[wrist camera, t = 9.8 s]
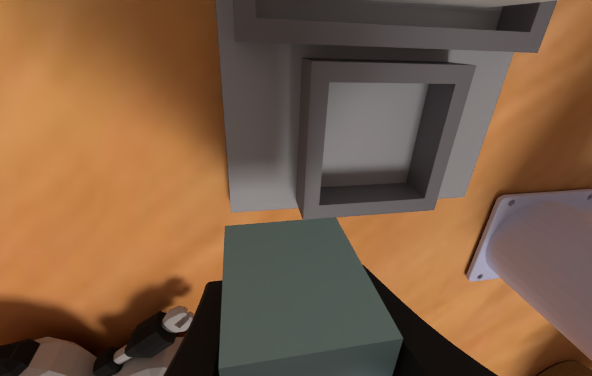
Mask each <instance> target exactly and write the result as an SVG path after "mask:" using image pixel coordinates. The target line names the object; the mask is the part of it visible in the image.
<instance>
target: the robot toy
mask: <svg viewBox="0 0 592 376" xmlns="http://www.w3.org/2000/svg"><path fill="white" fill-rule="evenodd" d="M187 310H188V309H187V308H185V307H183V306H177V307H175V308H172V309H170V310H169V311H168V312H167V313H164V312H161V311H159V312H158V313H156V314H155V315H153V316H152V317H150V318H148V319H147V320H145V321H144V322H142V323H141V324H139V325H138V326H137V328H136V329H135V331H134V333H133V334H132V336H131V338H130V339H129V341H128V343H127V345H125V346H124V347H122V348H121V349H118V348H116V347H111V348H109V349H108V350H106V351H104V352H103V353H101V354H100V355H98V357H95V356H94V355H93V354H91V353H90V352H88V351H87V350H85V349H84V348H82V347H81V346H79V345H78V344H76V343H74V342H70V341H65V340H61V339H57V338H52V337H44V338H40V339H36V340H32V339H26V340H23V341H19V342H15V343H11V344H7V345H3V346H0V376H163V375H164V373H165V372H166V370H167V368H168V366H169V364H170V362H171V361H172V359H173V357H174V355H175V353H176V352H177V350H178V348H179V346H180V344H181V342H182V340H183V338H184V337H176V336H177V332H183V331H186V330H187V329H188V328H189V326H190V324H191V321H192V319H193V317H194V314H193V313H192V312H189V313H187Z"/></svg>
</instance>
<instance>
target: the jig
mask: <svg viewBox="0 0 592 376" xmlns="http://www.w3.org/2000/svg"><path fill="white" fill-rule="evenodd" d="M556 2H557V1H547V2H537V3H528V4H518V5H509V6H499V7H490V8H476V7H461V6H446V5H431V4H416V3H401V2H386V1H371V0H215V4H216V17H217V31H218V44H219V57H220V71H221V84H222V97H223V111H224V124H225V137H226V150H227V164H228V177H229V190H230V204H231V213H232V212H247V211H262V210H277V209H292V208H299V210H300V213H301V216H302V218H303V220H307V219H319V218H331V217H347V216H361V215H374V214H388V213H401V212H415V211H428V210H434V208H435V205H436V202H437V199H441V198H456V197H465V194H466V191H467V188H468V185H469V182H470V179H471V176H472V173H473V171H474V168H475V165H476V162H477V159H478V156H479V153H480V150H481V147H482V144H483V141H484V138H485V135H486V132H487V129H488V127H489V124H490V121H491V118H492V115H493V112H494V109H495V106H496V103H497V100H498V97H499V94H500V91H501V88H502V86H503V83H504V80H505V77H506V74H507V71H508V68H509V65H510V62H511V59H512V56H513V53H514V52H529V53H538V50H539V48H540V45H541V42H542V40H543V37H544V34H545V32H546V29H547V26H548V24H549V21H550V18H551V16H552V13H553V10H554V8H555V5H556Z"/></svg>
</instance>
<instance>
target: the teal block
mask: <svg viewBox="0 0 592 376" xmlns="http://www.w3.org/2000/svg"><path fill="white" fill-rule="evenodd" d="M402 341H403V337H402V335H401V333H400V332H399V330H398V328H397V326H396V324H395V323H394V321H393V319H392V317H391V315H390V314H389V312H388V310H387V308H386V307H385V305H384V303H383V301H382V299H381V298H380V296H379V294H378V292H377V290H376V289H375V287H374V285H373V283H372V281H371V280H370V278H369V276H368V274H367V273H366V271H365V269H364V267H363V265H362V264H361V262H360V260H359V258H358V256H357V255H356V253H355V251H354V249H353V247H352V246H351V244H350V242H349V240H348V239H347V237H346V235H345V233H344V231H343V230H342V228H341V226H340V224H339V222H338V221H337V219H336V217H331V218H319V219H307V220H294V221H282V222H270V223H257V224H245V225H232V226H225V238H224V260H223V281H222V303H221V325H220V346H219V368H218V369H219V375H220V376H392V375H393V371H394V368H395V365H396V361H397V358H398V355H399V351H400V348H401V344H402Z"/></svg>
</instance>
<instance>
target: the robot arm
mask: <svg viewBox="0 0 592 376" xmlns="http://www.w3.org/2000/svg"><path fill="white" fill-rule="evenodd" d="M363 267H364V269H365V271H366V273H367V274H368V276H369V278H370V280H371V281H372V283H373V285H374V287H375V289H376V290H377V292H378V294H379V296H380V298H381V299H382V301H383V303H384V305H385V307H386V308H387V310H388V312H389V314H390V315H391V317H392V319H393V321H394V323H395V324H396V326H397V328H398V330H399V332H400V333H401V335H402V337H403V341H402V344H401V348H400V351H399V355H398V358H397V361H396V365H395V368H394V371H393V375H392V376H498V375H496V374H495V373H493V372H492V371H490V370H489V369H487V368H486V367H484V366H483V365H481V364H480V363H478V362H477V361H476V360H474V359H473V358H471V357H470V356H469V355H467V354H466V353H464V352H463V351H462V350H460V349H459V348H458V347H456V346H455V345H454V344H452V343H451V342H450V341H448V340H447V339H446V338H444V337H443V336H442V335H441V334H439V333H438V332H437V331H436V330H435V329H433V328H432V327H431V326H430V325H428V324H427V323H426V322H425V321H424V320H422V319H421V318H420V317H419V316H418V315H417V314H415V313H414V312H413V311H412V310H411V309H410V308H409V307H408V306H406V305H405V304H404V303H403V302H402V301H401V300H400V299H399V298H398V297H397V296H395V295H394V294H393V293H392V292H391V291H390V290H389V289H388V288H387V287H386V286H385V285H384V284H383V283H382V282H381V281H380V280H378V279H377V278H376V277H375V276H374V275H373V274H372V273H371V272H370V271H369V270H368V269H367V268H366V267H365V266H364V265H363ZM466 277H467V279H468V280H469V281H480V280H488V279H496V278H501V279H502V280H503V281H505V282H506V283H507V284H508V285H509V286H510V287H511V288H512V289H513V290H514V291H515V292H517V293H518V294H519V295H520V296H521V297H522V298H523V299H524V300H525V301H526V302H528V303H529V304H530V305H531V306H532V307H533V308H534V309H535V310H536V311H537V312H539V313H540V314H541V315H542V316H543V317H544V318H545V319H546V320H547V321H548V322H550V323H551V324H552V325H553V326H554V327H555V328H556V329H557V330H558V331H559V332H560V333H562V334H563V335H564V336H565V337H566V338H567V339H568V340H569V341H570V342H571V343H573V344H574V345H575V346H576V347H577V348H578V349H579V350H580V351H581V352H582V353H584V354H585V355H586V356H587V357H588V358H589V359H590V360H591V361H592V189H583V190H568V191H553V192H538V193H523V194H508V195H502V196H500V197H499V198H498V199H497V200H496V202H495V205H494V207H493V210H492V212H491V215H490V217H489V220H488V222H487V225H486V227H485V230H484V232H483V235H482V237H481V240H480V242H479V245H478V247H477V250H476V252H475V255H474V257H473V260H472V262H471V265H470V267H469V270H468V272H467V275H466ZM222 281H223V280H222ZM222 281H213V282H209V283H207V284H206V286H205V289H204V292H203V295H202V298H201V300H200V303H199V305H198V308H197V310H196V312H195V315H194V317H193V319H192V321H191V324H190V326H189V328H188V330H187V332H186V334H185V336H184V338H183V340H182V342H181V344H180V346H179V348H178V350H177V352H176V353H175V355H174V357H173V359H172V361H171V362H170V364H169V366H168V368H167V370H166V372H165V373H164V375H163V376H220V375H219V369H218V368H219V346H220V325H221V303H222Z"/></svg>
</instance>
